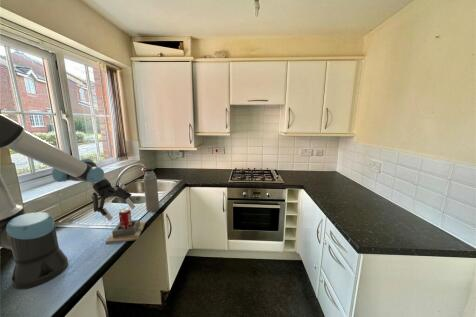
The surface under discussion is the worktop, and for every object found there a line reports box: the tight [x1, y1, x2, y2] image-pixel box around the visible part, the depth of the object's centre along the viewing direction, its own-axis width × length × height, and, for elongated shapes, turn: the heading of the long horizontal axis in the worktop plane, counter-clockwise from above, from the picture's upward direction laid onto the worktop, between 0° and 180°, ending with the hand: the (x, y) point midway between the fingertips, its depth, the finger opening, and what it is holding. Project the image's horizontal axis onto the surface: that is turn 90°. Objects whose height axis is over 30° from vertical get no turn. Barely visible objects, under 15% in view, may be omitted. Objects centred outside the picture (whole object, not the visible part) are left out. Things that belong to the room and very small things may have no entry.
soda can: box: [118, 207, 132, 229], centre depth 99 cm, size 5×5×12 cm
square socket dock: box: [105, 219, 146, 244], centre depth 100 cm, size 16×14×4 cm
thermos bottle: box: [143, 168, 160, 212], centre depth 125 cm, size 8×8×28 cm
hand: (123, 213), depth 100 cm, fingers open, 13 cm apart
